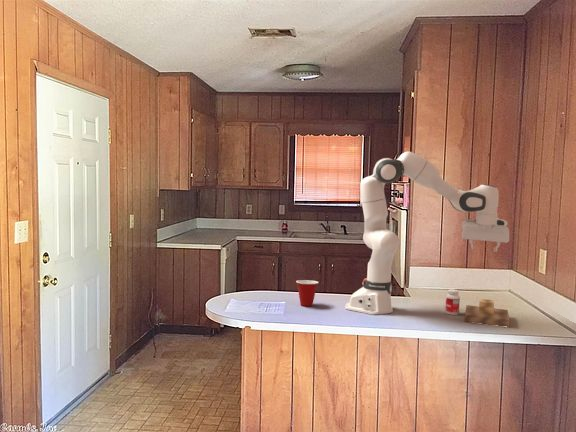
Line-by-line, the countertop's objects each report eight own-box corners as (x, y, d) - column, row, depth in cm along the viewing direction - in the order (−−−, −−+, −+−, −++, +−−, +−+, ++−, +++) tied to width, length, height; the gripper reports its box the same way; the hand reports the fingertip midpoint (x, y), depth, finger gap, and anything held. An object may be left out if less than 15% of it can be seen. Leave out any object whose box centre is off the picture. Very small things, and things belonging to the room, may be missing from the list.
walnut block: (464, 323, 216) (464, 314, 216) (465, 313, 233) (466, 305, 232) (508, 329, 209) (509, 320, 209) (507, 318, 226) (507, 309, 226)
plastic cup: (318, 302, 241) (318, 279, 240) (317, 308, 231) (318, 283, 230) (296, 301, 242) (297, 277, 241) (294, 307, 232) (295, 282, 231)
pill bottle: (443, 311, 232) (444, 288, 231) (455, 311, 233) (456, 288, 232) (448, 315, 226) (449, 291, 225) (461, 315, 226) (462, 292, 226)
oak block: (478, 312, 219) (479, 301, 219) (479, 309, 225) (480, 298, 224) (493, 314, 217) (493, 303, 217) (493, 311, 222) (494, 300, 222)
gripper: (461, 219, 222) (459, 249, 223) (510, 222, 214) (508, 253, 215) (462, 218, 228) (460, 247, 229) (510, 221, 220) (507, 251, 221)
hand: (484, 250), depth 222 cm, fingers open, 8 cm apart
